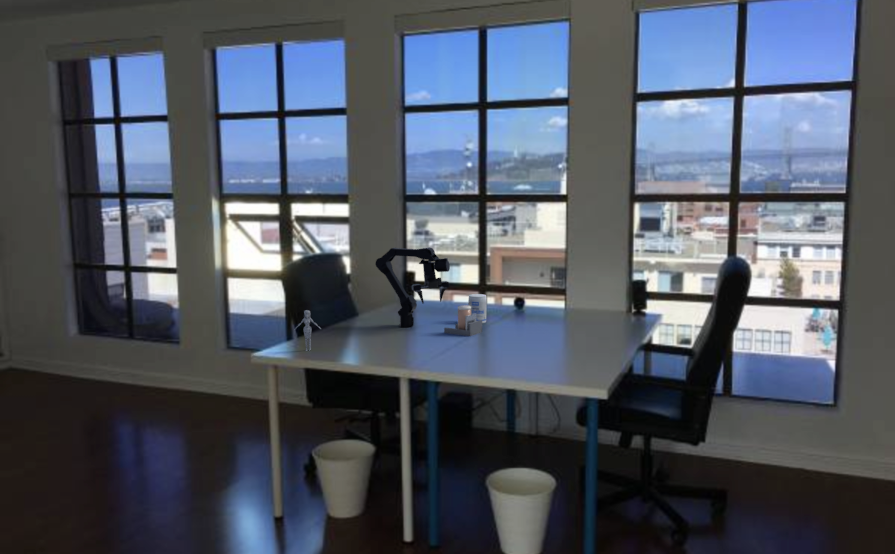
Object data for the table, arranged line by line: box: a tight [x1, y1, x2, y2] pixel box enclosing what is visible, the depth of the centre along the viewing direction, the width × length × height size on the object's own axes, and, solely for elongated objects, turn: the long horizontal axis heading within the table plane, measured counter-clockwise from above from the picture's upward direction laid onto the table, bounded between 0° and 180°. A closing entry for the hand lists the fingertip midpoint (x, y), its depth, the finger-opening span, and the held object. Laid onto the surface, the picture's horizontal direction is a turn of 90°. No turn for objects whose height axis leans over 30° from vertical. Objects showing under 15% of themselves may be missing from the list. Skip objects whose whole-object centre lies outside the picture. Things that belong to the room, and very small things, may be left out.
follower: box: [465, 313, 476, 330], centre depth 344 cm, size 1×8×9 cm, turn 147°
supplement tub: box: [467, 293, 488, 324], centre depth 373 cm, size 10×10×15 cm
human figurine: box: [293, 309, 322, 352], centre depth 315 cm, size 12×4×18 cm, turn 97°
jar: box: [457, 304, 471, 330], centre depth 346 cm, size 7×7×13 cm
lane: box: [443, 320, 483, 337], centre depth 347 cm, size 15×11×6 cm
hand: (431, 302), depth 361 cm, fingers open, 9 cm apart
